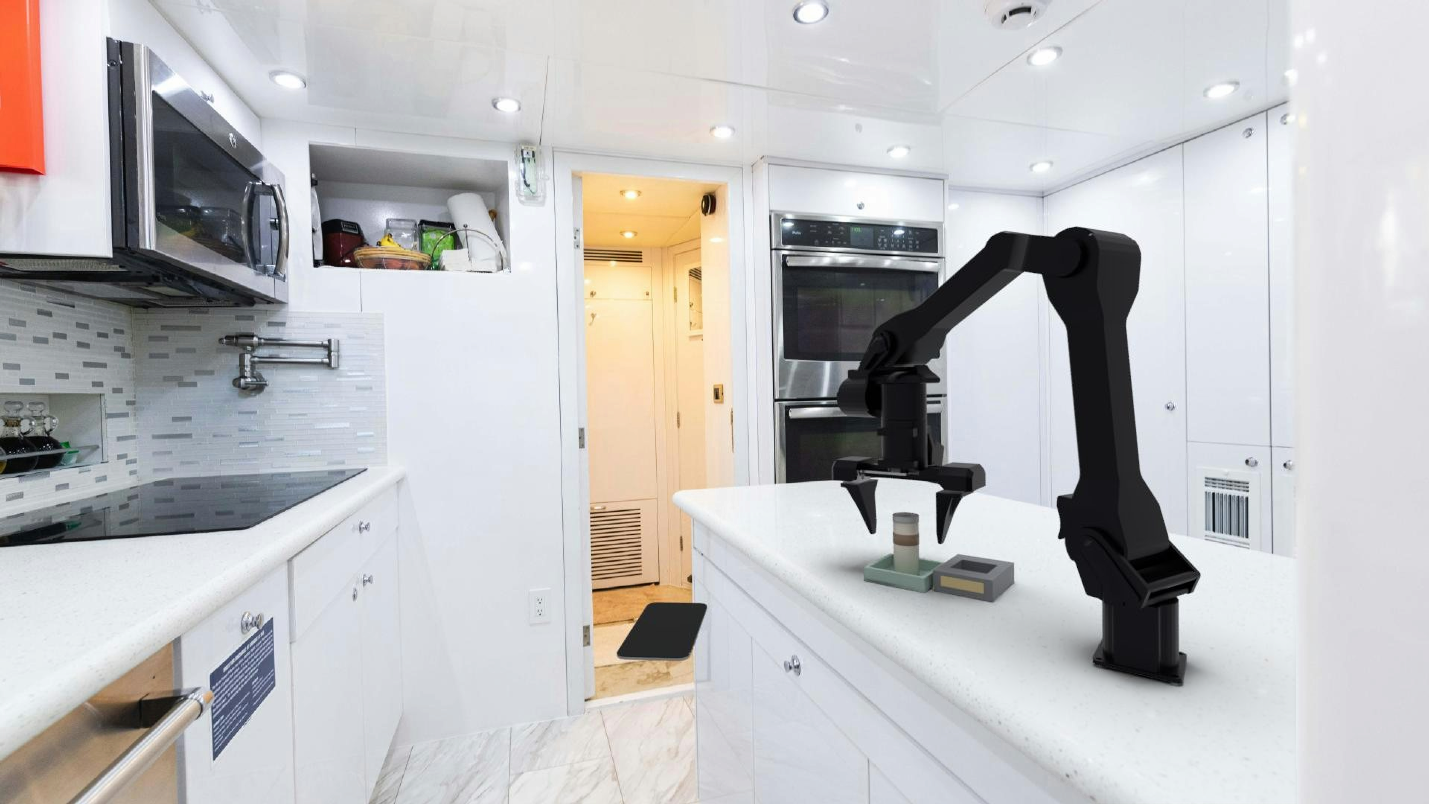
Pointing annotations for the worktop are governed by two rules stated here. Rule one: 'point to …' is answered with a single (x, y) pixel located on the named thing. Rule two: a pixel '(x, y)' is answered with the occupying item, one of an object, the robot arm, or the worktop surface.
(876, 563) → the parts tray
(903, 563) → the fuse
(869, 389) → the robot arm
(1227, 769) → the worktop surface
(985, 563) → the fuse holder
